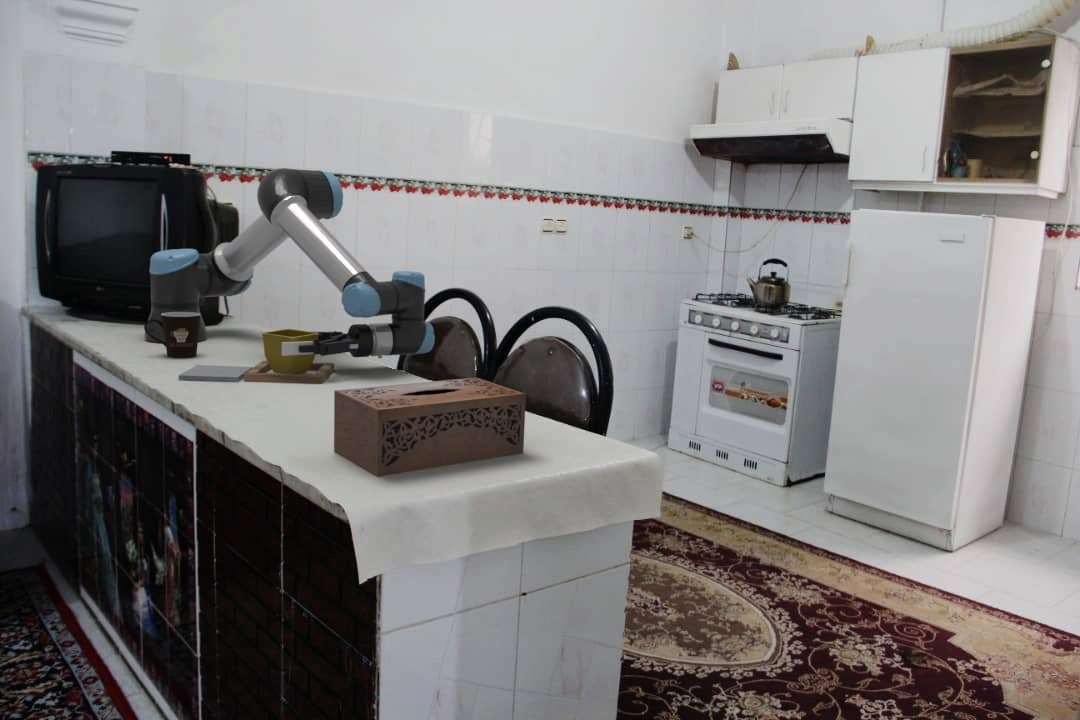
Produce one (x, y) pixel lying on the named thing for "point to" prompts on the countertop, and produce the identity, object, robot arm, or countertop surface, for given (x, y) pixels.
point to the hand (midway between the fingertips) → (273, 344)
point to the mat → (215, 373)
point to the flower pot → (290, 362)
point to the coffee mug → (179, 333)
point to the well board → (260, 374)
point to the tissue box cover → (427, 424)
